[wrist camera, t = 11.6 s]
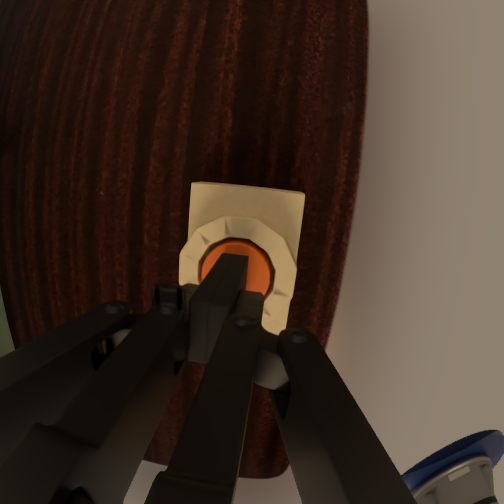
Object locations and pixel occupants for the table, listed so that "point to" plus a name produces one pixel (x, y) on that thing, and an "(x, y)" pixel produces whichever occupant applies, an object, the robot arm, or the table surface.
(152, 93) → the table surface
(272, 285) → the box
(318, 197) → the table surface
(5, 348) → the clamp block
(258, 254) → the button
